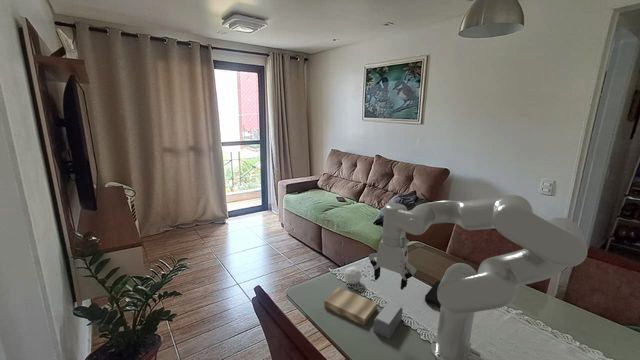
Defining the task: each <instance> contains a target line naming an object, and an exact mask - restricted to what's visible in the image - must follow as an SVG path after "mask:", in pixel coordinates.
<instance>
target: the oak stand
mask: <svg viewBox="0 0 640 360" xmlns="http://www.w3.org/2000/svg"><path fill="white" fill-rule="evenodd" d="M323 304H324V305H323V306H324V308H326V309H327V310H330V311H332V312H335V314H338V315H340V316H342V317H344V318H347V319H349V320H351V321H353V322H355V323H358V324H360V325H362V326H365V325H366V324H367V323H368V322H369V321H370V319H371V317H373V315H374V314H375V312H376V311H377V310H378V302H376V301H374V300H371V299H369V298H366V297H363V296H361V295H359V294H357V293H354V292H351V291H349V290H347V289H344V288H342V287H337V288H336V289H335V290H334V291H333V292H332V293H331V294H330V295H329V296H328V297H327V298H325V300H324V301H323Z"/></svg>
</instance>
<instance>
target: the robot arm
mask: <svg viewBox="0 0 640 360" xmlns="http://www.w3.org/2000/svg"><path fill="white" fill-rule="evenodd" d="M383 210H384V211H383V222H382V237H381V239H380V241H379V244H378V248H377V252H373V253H370V254H369V255H368V260H369V261H370V264H371V266H372V269H373V270H374V271H373V275H374V280H375V281H378V280H379V278H380V277H381V269H385V270H388V271H390V272H394V273H395V274H396V273H397V274H399V275H400V276H401V280H400V290H402V291H403V290H404V289H405V288H407V285H408V279H410V278H412V277H413V276H414V274H416V272H417V270H418V269H417V268H415V267H414V266H413V265H412V264H411V263H409V256H408V255H409V253H408V252H409V251H408V250H409V249H408V245H409V243H410V239H407V237H406V233H408V234H409V235H413V236H420V235H421V236H422V235H424V234H425V232H426V231H427V230H428V229H429V227H430V226H432V225H436V224H447V223H448V224H454V225H455V224H456V225H458V226H459V227H461V228H462V229H464V230H466V231H477V230H491V229H495V230H496V231H497V232H498V233H499V234H500V235H501V236H503V237H505V238H506V239H508V240H509V241H511V242H513V243H514V244H516V245H518V246H520V247H521V248H523V249H519V250H516V251H512V252H507V253H505V254H501V255H496V256H492V257H488V258H486V259H484V260H482V262H481V263H479V264H480V265H479V267H478V270H477V271H476V270H475V269H474V268H473V267H472V266H471V265H470V264H467V263H464V262H456V263H453V264H451V265H450V266H449V267H448V268H447V269H446V270H445V272H444V274H443V276H442V279H441V280H440V281H441V282H440V284H439V287H438V290H437V297H438V300H439V302H440V304H441V308H440V307H439V309H440V311H439V317H438V324H437V325H438V328H437V335H436V336H435V337H434V338H433V339H432V340H431V343H430V350H431V352H432V354H433V356H434V357H435V358H436V359H435V360H485V358H483V357H481V354H482V352H480V351H478V350H475V349H473V348H472V347H471V346H472V342H471V337H472V330H473V329H472V328H473V325H474V324H473V322H474V317H475V313H478V312H484V311H490V310H496V309H498V310H499V309H501V308H505V307H507V306H509V305H510V304H511V303H512V302H513V301H514V300H515V299H516V297H517V292H518V288H519V287H522V286H525V285H529V284H533V283H537V282H541V281H545V280H549V279H551V278H553V277H556V276H557V275H559V274H560V273H562V272H563V271H564V270H566V268H572V267H573V268H574V267H577V266H578V265H581V264H582V263H584V261H585V260H586V258H587V256H588V247H587V243H586V240H585V237H584V235H583V232H582V230H581V228H580V227H579V225H577V223H575V221H573V220H571V219H568V218H566V217H553V218H550V219H548V220H546V219H544V218H542V217H540V216H539V215H537V214H535V213H534V212H533V207H532V206H531V203H530V201H528V200H527V199H526V198H525V197H523V196H521V195H516V194H509V195H508V194H507V195H501V196H492V197H484V198H478V199H477V198H476V199H470V200H439V201H438V200H437V201H432V202H425V203H421V204H418V205H415V206H414V207H413V208H412V209H410V210H408V208H407V206H406V205H404V204H401V203H398V202H390V203H387V204H386V205H385V206H384V209H383ZM407 269H408V270H409V272H408V271H407Z"/></svg>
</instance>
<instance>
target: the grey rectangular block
mask: <svg viewBox="0 0 640 360" xmlns="http://www.w3.org/2000/svg"><path fill="white" fill-rule="evenodd" d="M403 309H404V308H403V307H402V306H400V305H399V304H396V303H393V302H390V301H388V302H387V303H386V304H385V305H384V306H383V308H381V310H380V312H379V313H378V314H377V315H376V316H375V318H374V319H373V332H375V333H376V334H378V335H381V336H382V337H384V338H386V339H390V338H391V337H392V335H393V334H394V332H395V330H396V329H397V327H398V326H399V324H400V323H401V322H402V320H403Z"/></svg>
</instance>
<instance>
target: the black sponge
mask: <svg viewBox="0 0 640 360" xmlns="http://www.w3.org/2000/svg"><path fill="white" fill-rule="evenodd" d="M440 282H441V280H440V281H439V280H437V281H435V283H434V284H433V285H432V287H431V288H430V289H429V290H428V292H427V293H426V294H425V295H424V302H425V303H426V304H429V305H432V306H436V307H438V308H439V309H440V308H441V304H440V302H439V300H438V297H437V290H438V287H439V284H440Z"/></svg>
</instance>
